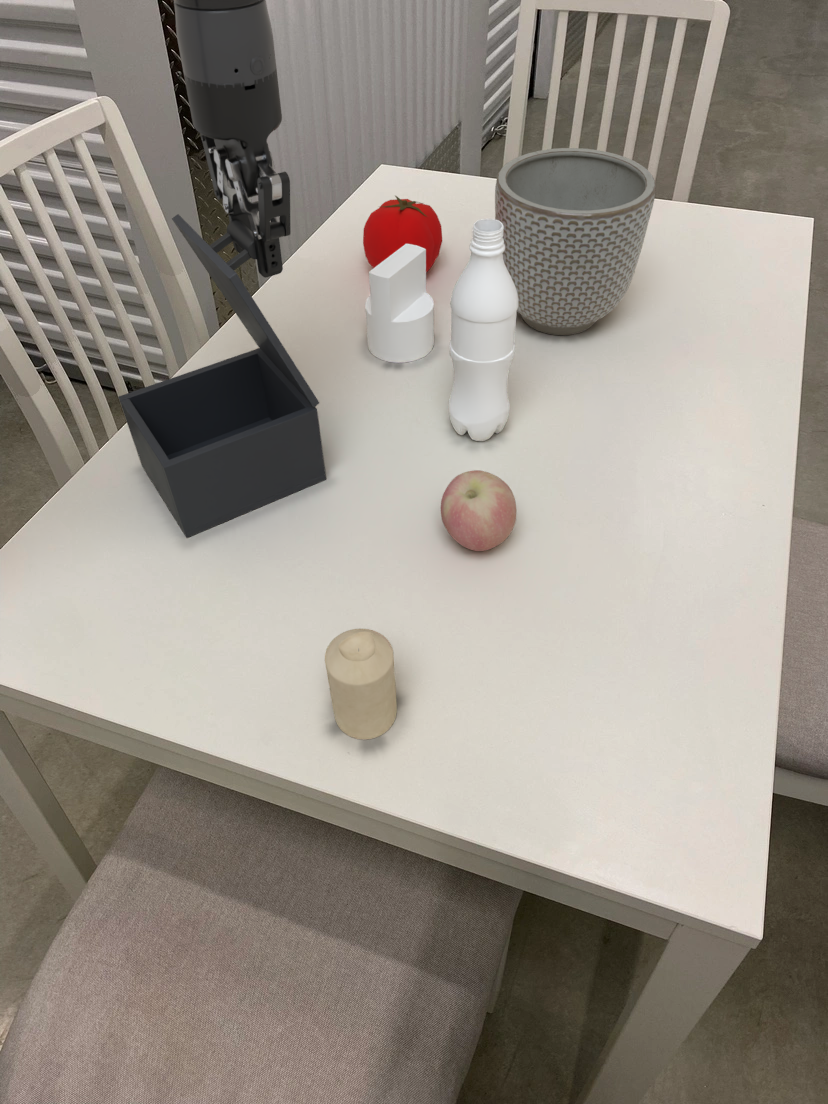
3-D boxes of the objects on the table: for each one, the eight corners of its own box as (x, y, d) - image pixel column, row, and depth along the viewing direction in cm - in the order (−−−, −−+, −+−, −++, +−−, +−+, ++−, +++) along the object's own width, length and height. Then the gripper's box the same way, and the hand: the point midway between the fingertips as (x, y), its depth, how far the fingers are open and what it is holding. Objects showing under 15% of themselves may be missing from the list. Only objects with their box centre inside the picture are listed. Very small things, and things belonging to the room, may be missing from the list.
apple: (436, 515, 88) (436, 459, 82) (506, 509, 89) (511, 453, 83) (445, 570, 83) (445, 514, 77) (519, 564, 83) (526, 507, 77)
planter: (459, 312, 116) (462, 176, 102) (555, 266, 124) (571, 134, 110) (561, 373, 105) (580, 231, 91) (659, 319, 114) (690, 180, 100)
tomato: (382, 299, 119) (378, 224, 111) (354, 264, 126) (348, 191, 118) (456, 281, 122) (457, 207, 114) (424, 248, 129) (424, 176, 121)
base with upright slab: (410, 370, 107) (408, 285, 98) (354, 350, 110) (347, 266, 101) (446, 337, 112) (447, 254, 103) (391, 319, 115) (387, 237, 106)
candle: (366, 675, 74) (359, 606, 67) (410, 711, 72) (407, 643, 64) (321, 713, 72) (308, 646, 64) (364, 752, 69) (356, 686, 62)
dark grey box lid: (229, 278, 71) (275, 244, 71) (171, 218, 79) (212, 187, 79) (313, 407, 85) (351, 378, 85) (257, 345, 93) (292, 319, 93)
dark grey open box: (186, 538, 87) (163, 467, 79) (142, 466, 95) (117, 396, 87) (326, 479, 92) (317, 409, 85) (273, 416, 100) (261, 347, 93)
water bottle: (476, 454, 95) (486, 250, 77) (436, 425, 99) (436, 223, 80) (520, 429, 98) (540, 226, 80) (479, 401, 102) (490, 202, 83)
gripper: (154, 49, 69) (193, 242, 82) (221, 98, 61) (254, 305, 73) (236, 35, 72) (262, 224, 84) (311, 80, 64) (328, 282, 76)
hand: (258, 261), depth 79 cm, fingers closed on dark grey box lid, 5 cm apart
